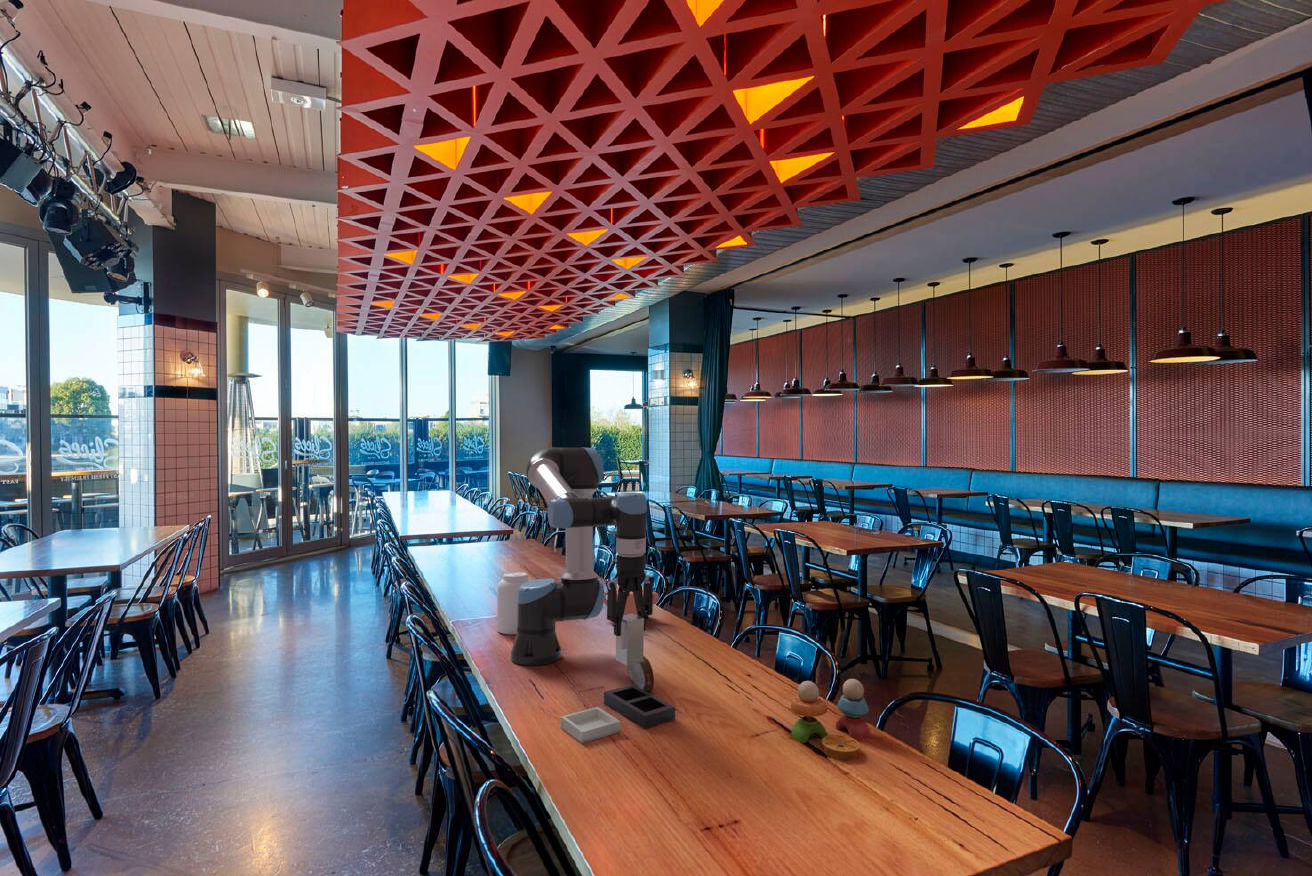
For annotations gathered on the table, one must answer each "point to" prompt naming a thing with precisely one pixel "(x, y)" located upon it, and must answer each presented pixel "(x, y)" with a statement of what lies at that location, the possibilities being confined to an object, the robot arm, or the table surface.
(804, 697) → the wooden stacking toy
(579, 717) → the tray
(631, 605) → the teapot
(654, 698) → the dark rectangular frame
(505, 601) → the white bottle
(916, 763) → the table surface
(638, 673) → the tin
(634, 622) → the grey rectangular block
